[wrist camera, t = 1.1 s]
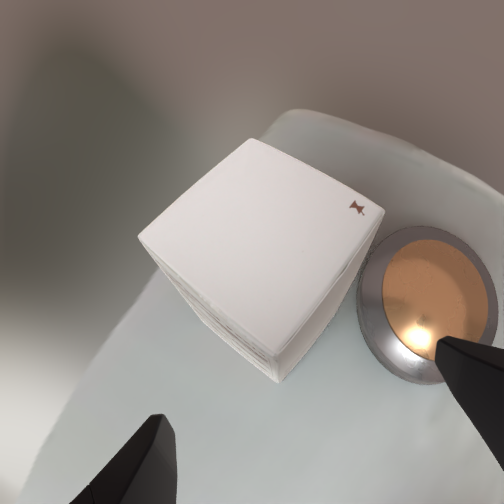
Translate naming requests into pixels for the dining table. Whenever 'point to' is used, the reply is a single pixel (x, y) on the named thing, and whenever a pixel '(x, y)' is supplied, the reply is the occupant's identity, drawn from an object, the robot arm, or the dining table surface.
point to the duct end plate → (423, 300)
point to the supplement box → (264, 251)
